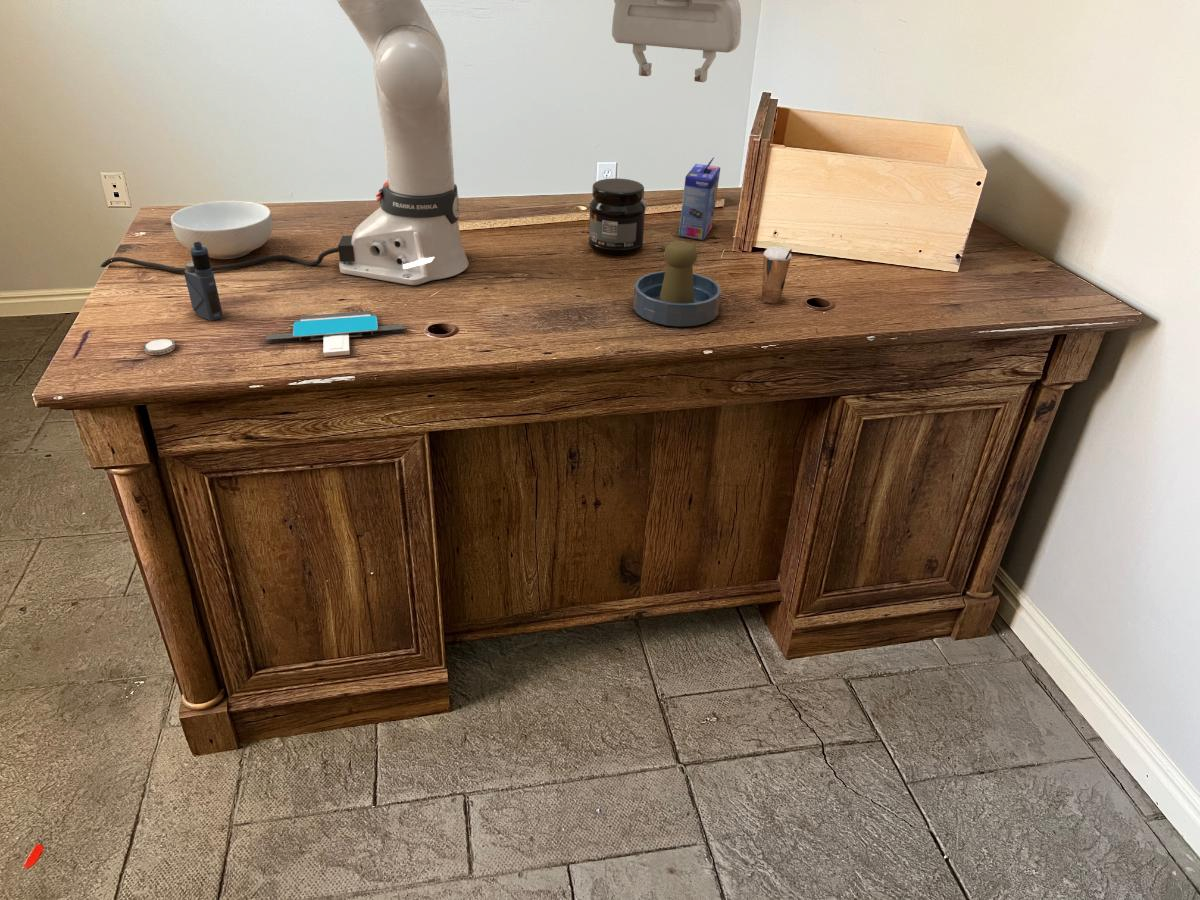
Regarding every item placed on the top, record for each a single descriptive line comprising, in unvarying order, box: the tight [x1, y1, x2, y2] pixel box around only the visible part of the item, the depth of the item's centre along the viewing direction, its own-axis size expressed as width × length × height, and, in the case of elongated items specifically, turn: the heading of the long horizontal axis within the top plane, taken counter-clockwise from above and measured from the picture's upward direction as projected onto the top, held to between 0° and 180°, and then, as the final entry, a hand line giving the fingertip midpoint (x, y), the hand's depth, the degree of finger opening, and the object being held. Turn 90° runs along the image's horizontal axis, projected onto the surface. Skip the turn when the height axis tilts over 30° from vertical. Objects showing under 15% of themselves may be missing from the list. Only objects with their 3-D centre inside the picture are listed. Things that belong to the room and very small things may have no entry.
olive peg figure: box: [659, 240, 698, 304], centre depth 138 cm, size 6×6×11 cm
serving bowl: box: [632, 270, 722, 328], centre depth 140 cm, size 14×14×4 cm
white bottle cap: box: [143, 338, 176, 356], centre depth 124 cm, size 4×4×1 cm
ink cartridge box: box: [678, 157, 721, 241], centre depth 169 cm, size 10×6×14 cm, turn 163°
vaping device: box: [184, 242, 224, 322], centre depth 130 cm, size 3×5×12 cm, turn 58°
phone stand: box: [265, 310, 405, 358], centre depth 128 cm, size 20×12×2 cm, turn 105°
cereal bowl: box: [170, 200, 273, 260], centre depth 154 cm, size 17×17×7 cm
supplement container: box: [588, 177, 647, 258], centre depth 161 cm, size 10×10×12 cm
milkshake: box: [761, 245, 793, 304], centre depth 143 cm, size 5×5×10 cm
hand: (672, 78), depth 135 cm, fingers open, 8 cm apart
